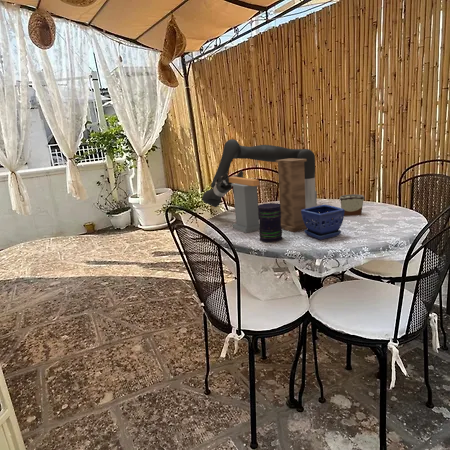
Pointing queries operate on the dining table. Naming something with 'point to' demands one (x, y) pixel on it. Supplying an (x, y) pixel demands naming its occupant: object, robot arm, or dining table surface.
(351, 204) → the food container
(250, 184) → the orange rectangular block
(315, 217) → the flower pot
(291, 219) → the tall stand
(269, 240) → the storage jar
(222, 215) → the dining table surface
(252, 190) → the grey tall block
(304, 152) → the robot arm
